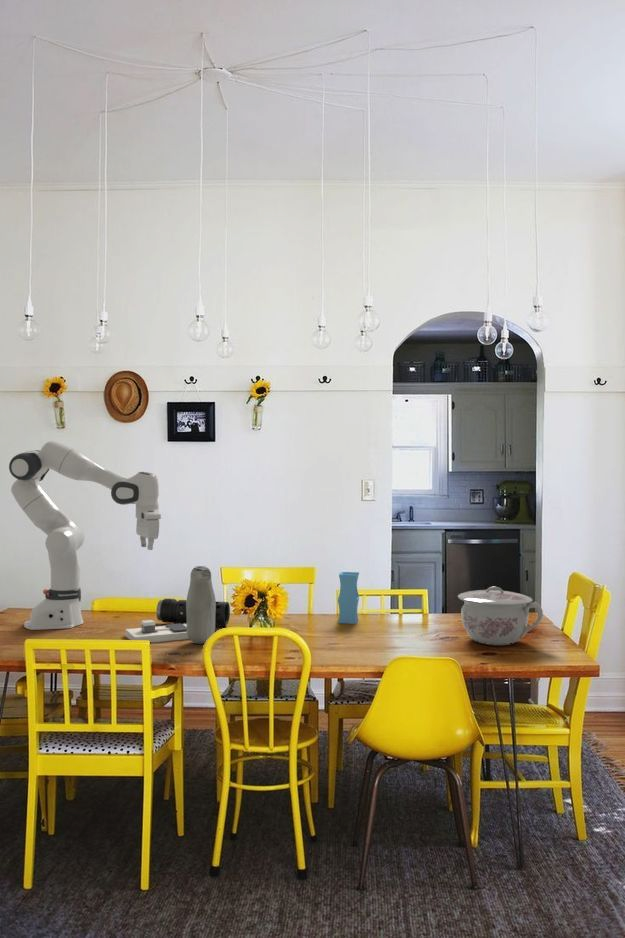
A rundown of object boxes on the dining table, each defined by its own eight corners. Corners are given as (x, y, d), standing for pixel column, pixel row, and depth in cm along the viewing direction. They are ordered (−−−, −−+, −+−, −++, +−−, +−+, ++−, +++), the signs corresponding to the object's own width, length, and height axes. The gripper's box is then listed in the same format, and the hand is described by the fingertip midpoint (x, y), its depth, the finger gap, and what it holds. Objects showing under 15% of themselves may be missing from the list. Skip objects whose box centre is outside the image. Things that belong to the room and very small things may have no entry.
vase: (356, 623, 332) (357, 575, 331) (337, 623, 333) (338, 574, 332) (358, 620, 339) (359, 572, 339) (339, 619, 341) (340, 571, 340)
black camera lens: (223, 629, 318) (224, 603, 318) (155, 626, 322) (155, 600, 322) (230, 624, 328) (230, 599, 327) (163, 621, 332) (163, 596, 331)
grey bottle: (220, 642, 297) (220, 565, 296) (201, 647, 288) (202, 569, 287) (199, 638, 302) (200, 563, 301) (180, 644, 293) (181, 566, 293)
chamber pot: (443, 636, 312) (444, 582, 311) (504, 631, 321) (505, 579, 321) (483, 653, 285) (484, 594, 285) (548, 647, 295) (549, 591, 295)
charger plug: (144, 639, 299) (144, 622, 299) (141, 636, 302) (141, 620, 302) (154, 638, 301) (155, 621, 301) (151, 635, 304) (152, 619, 304)
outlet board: (134, 644, 292) (135, 634, 292) (125, 635, 305) (125, 627, 305) (198, 638, 303) (198, 629, 303) (187, 630, 316) (187, 621, 315)
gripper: (132, 511, 327) (132, 545, 328) (145, 515, 309) (145, 551, 309) (147, 511, 330) (147, 545, 330) (162, 515, 312) (161, 550, 312)
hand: (146, 548), depth 320 cm, fingers open, 8 cm apart
